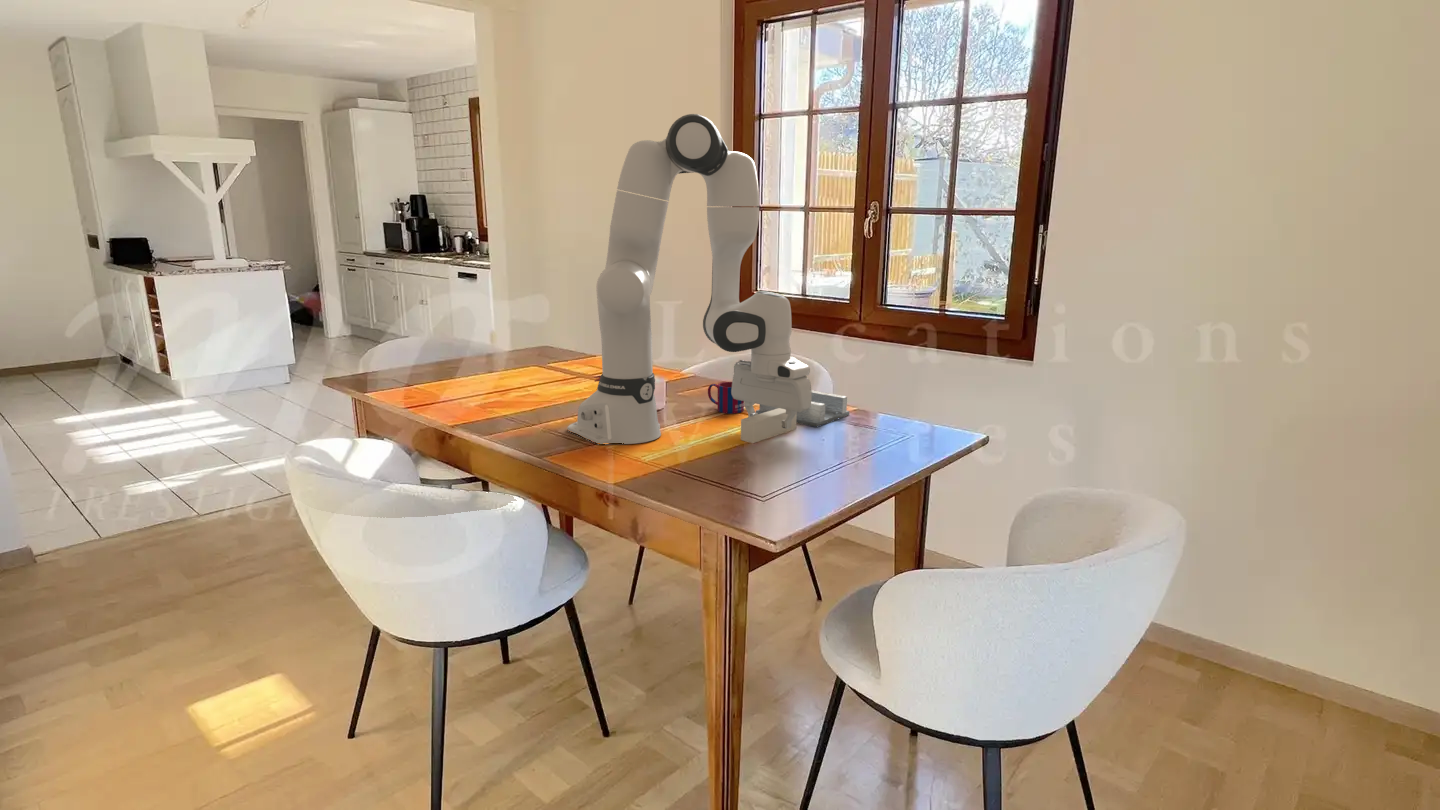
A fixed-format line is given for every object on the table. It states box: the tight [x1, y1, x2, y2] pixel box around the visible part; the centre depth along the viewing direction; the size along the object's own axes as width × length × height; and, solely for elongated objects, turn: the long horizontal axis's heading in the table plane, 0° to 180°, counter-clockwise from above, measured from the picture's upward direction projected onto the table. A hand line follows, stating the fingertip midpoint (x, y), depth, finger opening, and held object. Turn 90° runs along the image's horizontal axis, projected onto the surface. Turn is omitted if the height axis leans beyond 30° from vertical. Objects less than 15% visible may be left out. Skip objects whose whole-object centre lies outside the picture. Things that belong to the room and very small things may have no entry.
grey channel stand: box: [755, 389, 851, 428], centre depth 195 cm, size 18×15×5 cm
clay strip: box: [740, 408, 797, 444], centre depth 178 cm, size 4×16×5 cm, turn 138°
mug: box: [707, 381, 745, 415], centre depth 199 cm, size 7×10×7 cm
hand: (769, 424), depth 178 cm, fingers open, 8 cm apart
